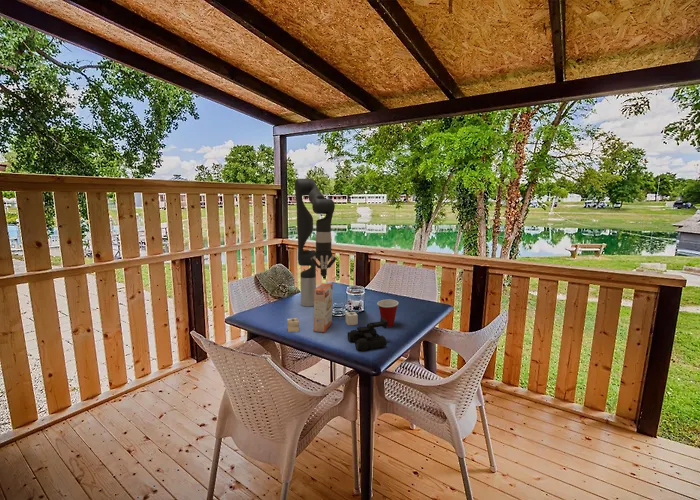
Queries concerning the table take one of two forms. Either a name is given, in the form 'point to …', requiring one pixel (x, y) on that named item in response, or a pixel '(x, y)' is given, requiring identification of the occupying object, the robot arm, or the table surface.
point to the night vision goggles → (368, 336)
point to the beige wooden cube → (351, 318)
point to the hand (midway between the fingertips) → (323, 276)
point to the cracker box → (323, 307)
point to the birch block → (293, 325)
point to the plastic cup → (388, 310)
